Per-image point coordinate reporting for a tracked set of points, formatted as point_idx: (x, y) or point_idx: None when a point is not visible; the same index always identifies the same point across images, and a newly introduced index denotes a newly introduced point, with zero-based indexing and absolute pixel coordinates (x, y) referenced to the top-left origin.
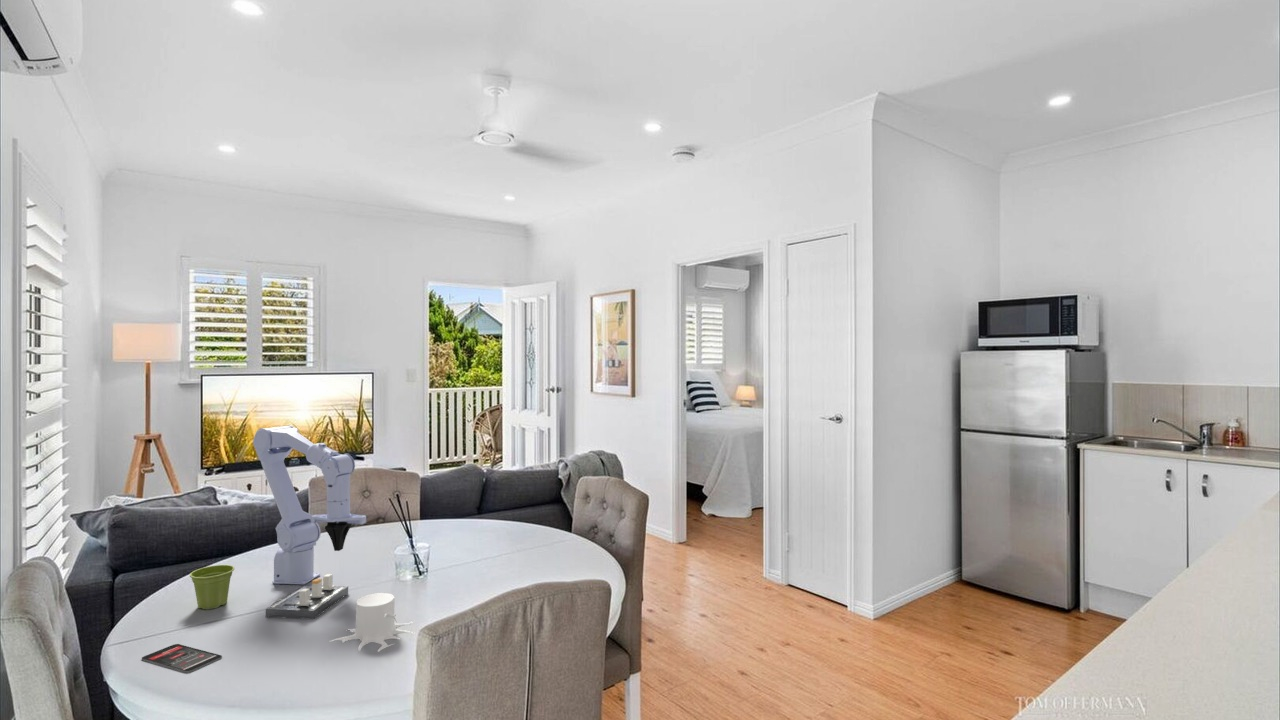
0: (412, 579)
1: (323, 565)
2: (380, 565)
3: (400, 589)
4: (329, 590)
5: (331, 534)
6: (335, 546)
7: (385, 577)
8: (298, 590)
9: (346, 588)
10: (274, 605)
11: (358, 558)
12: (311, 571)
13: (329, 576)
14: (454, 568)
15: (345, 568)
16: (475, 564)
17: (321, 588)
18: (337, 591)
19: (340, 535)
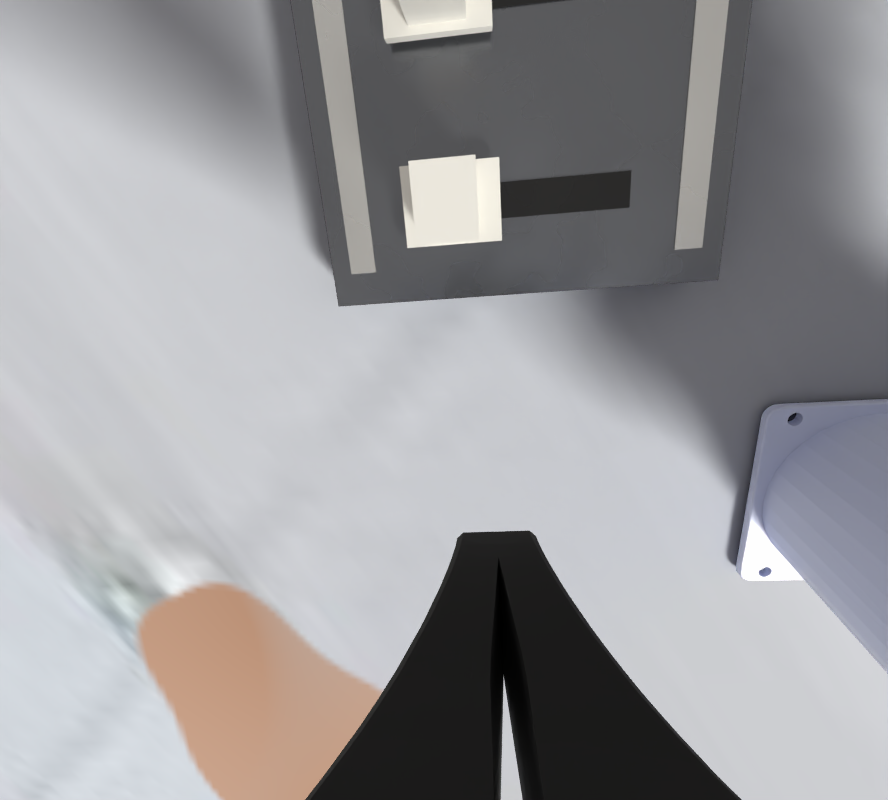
0: (141, 565)
1: (792, 703)
2: None
3: (87, 419)
4: None
5: (630, 792)
6: (508, 565)
7: (310, 577)
8: (705, 133)
9: (336, 278)
10: None
11: None
12: (792, 529)
13: (410, 178)
14: (55, 709)
15: (630, 674)
16: (4, 754)
17: (400, 4)
18: (344, 176)
19: (344, 765)
